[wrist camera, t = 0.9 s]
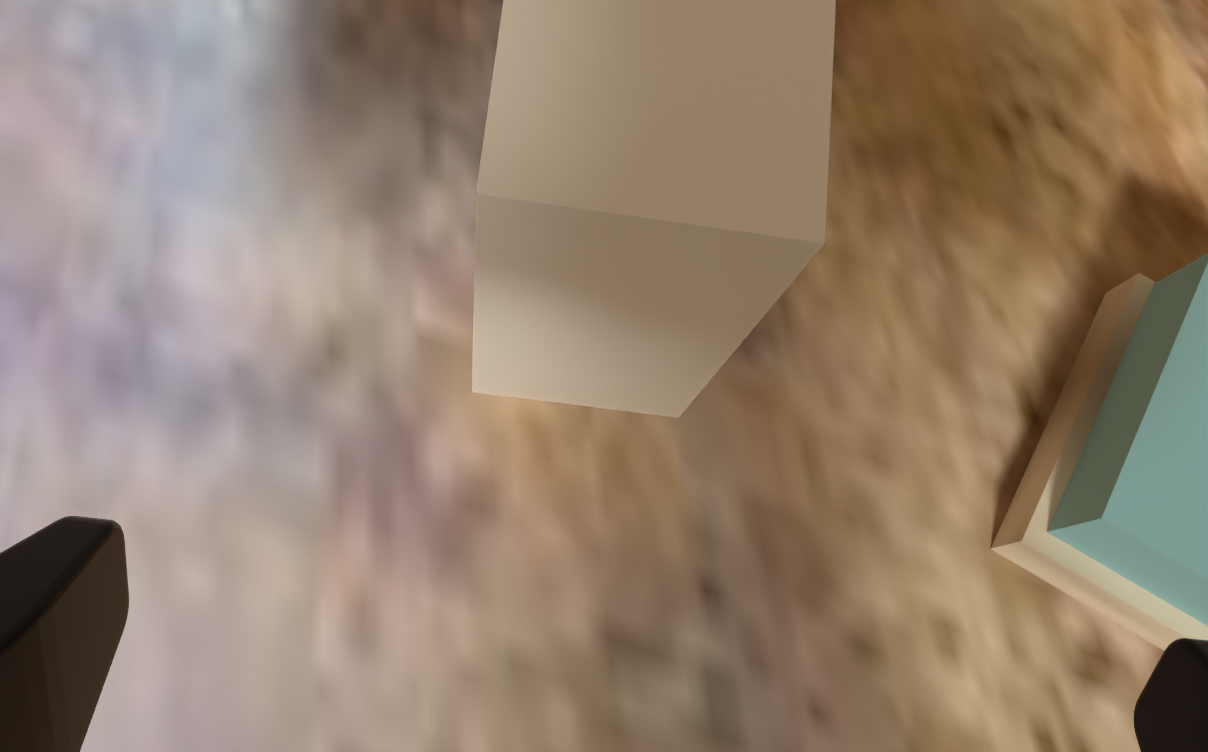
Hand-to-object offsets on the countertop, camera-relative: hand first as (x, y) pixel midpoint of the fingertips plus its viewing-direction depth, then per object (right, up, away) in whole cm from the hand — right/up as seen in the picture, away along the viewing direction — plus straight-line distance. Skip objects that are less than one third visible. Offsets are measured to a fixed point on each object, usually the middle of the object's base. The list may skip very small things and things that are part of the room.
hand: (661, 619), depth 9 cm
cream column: (-1, +4, +15) cm, 15 cm away
